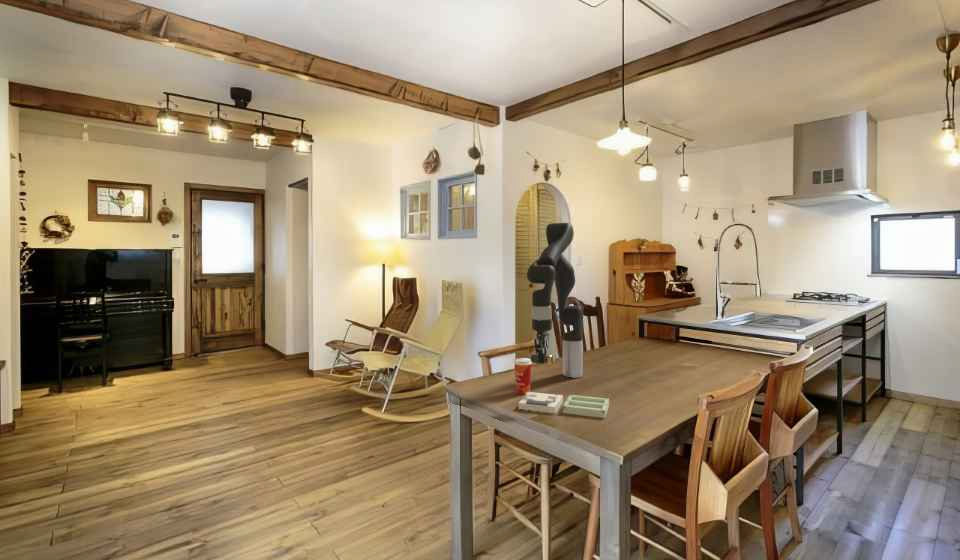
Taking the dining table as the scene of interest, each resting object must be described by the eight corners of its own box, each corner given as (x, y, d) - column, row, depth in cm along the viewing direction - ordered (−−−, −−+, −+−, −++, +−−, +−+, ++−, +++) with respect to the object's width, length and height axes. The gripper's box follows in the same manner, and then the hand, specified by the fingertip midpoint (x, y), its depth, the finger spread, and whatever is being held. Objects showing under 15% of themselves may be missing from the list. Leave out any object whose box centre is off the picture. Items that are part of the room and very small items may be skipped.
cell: (532, 362, 176) (533, 354, 177) (554, 364, 173) (555, 356, 174) (530, 362, 173) (531, 353, 174) (552, 363, 170) (553, 355, 171)
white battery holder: (528, 397, 184) (528, 387, 184) (563, 401, 179) (562, 390, 179) (518, 409, 171) (518, 398, 171) (555, 413, 166) (555, 402, 166)
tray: (569, 401, 179) (569, 394, 179) (609, 405, 173) (609, 398, 173) (562, 413, 166) (562, 406, 166) (604, 418, 161) (604, 410, 161)
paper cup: (511, 391, 194) (510, 358, 193) (527, 388, 196) (526, 356, 195) (519, 396, 186) (518, 362, 185) (535, 394, 189) (535, 360, 188)
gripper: (537, 314, 181) (537, 357, 182) (527, 319, 168) (527, 365, 169) (555, 315, 178) (556, 358, 179) (547, 320, 165) (547, 367, 166)
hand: (542, 361), depth 174 cm, fingers closed on cell, 3 cm apart
